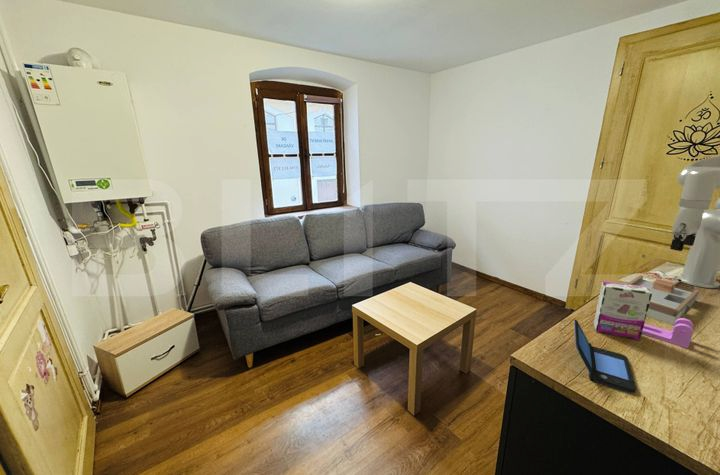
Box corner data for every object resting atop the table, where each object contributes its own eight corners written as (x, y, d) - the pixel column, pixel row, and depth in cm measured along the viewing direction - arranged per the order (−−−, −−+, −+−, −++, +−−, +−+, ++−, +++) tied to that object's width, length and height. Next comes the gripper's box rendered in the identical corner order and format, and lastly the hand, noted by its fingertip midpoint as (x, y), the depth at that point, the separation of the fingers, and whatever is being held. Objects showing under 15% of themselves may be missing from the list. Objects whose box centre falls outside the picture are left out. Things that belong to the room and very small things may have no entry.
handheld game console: (636, 396, 71) (645, 365, 68) (569, 375, 78) (575, 345, 76) (626, 359, 83) (633, 331, 81) (569, 343, 91) (574, 317, 88)
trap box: (637, 284, 125) (640, 273, 124) (695, 300, 111) (700, 287, 110) (610, 303, 111) (613, 290, 110) (673, 324, 97) (677, 310, 96)
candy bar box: (634, 332, 94) (647, 286, 90) (640, 341, 90) (654, 293, 85) (591, 324, 99) (601, 280, 95) (595, 331, 95) (605, 286, 90)
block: (656, 285, 118) (658, 278, 117) (673, 289, 114) (675, 282, 113) (652, 288, 116) (654, 281, 115) (669, 293, 112) (671, 286, 111)
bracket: (688, 340, 90) (694, 320, 88) (687, 348, 86) (694, 328, 84) (631, 323, 99) (636, 305, 97) (629, 330, 96) (634, 311, 94)
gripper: (689, 199, 114) (677, 240, 119) (669, 205, 107) (658, 249, 112) (718, 201, 108) (704, 245, 113) (699, 208, 100) (685, 255, 106)
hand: (681, 247), depth 112 cm, fingers open, 9 cm apart
